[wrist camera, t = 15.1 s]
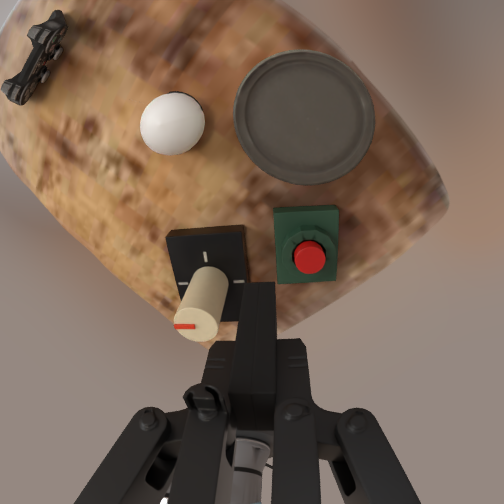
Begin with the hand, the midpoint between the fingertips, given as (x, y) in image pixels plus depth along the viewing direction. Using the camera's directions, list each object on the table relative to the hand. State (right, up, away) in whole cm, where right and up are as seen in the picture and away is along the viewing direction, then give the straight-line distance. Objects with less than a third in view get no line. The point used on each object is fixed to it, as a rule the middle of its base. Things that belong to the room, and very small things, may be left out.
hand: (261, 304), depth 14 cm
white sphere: (-10, +19, +17) cm, 27 cm away
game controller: (-32, +33, +12) cm, 47 cm away
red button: (+6, +2, +20) cm, 21 cm away
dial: (-6, -1, +23) cm, 24 cm away
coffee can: (+4, +18, +16) cm, 25 cm away
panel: (-6, 0, +26) cm, 26 cm away
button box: (+7, +4, +23) cm, 24 cm away
